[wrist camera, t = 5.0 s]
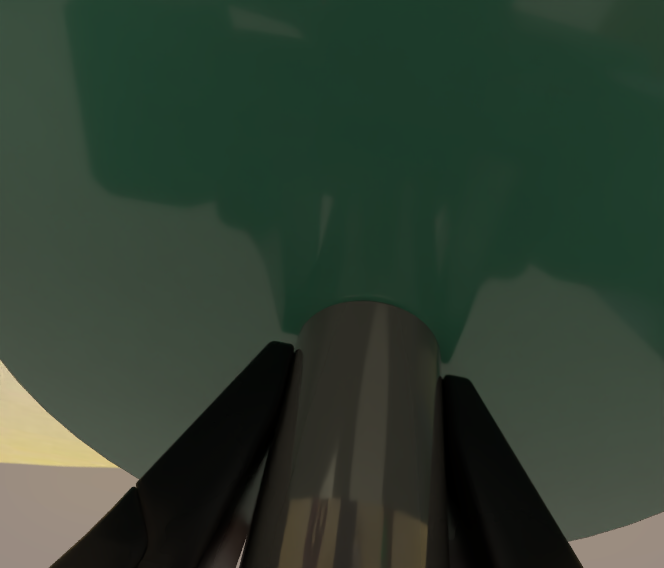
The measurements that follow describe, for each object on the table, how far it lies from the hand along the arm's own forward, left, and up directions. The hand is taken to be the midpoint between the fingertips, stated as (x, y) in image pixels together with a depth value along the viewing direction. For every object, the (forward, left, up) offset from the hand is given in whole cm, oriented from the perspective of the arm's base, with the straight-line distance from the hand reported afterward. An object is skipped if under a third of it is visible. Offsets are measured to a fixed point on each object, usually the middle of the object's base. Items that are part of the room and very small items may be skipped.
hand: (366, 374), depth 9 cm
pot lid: (0, 0, -1) cm, 1 cm away
